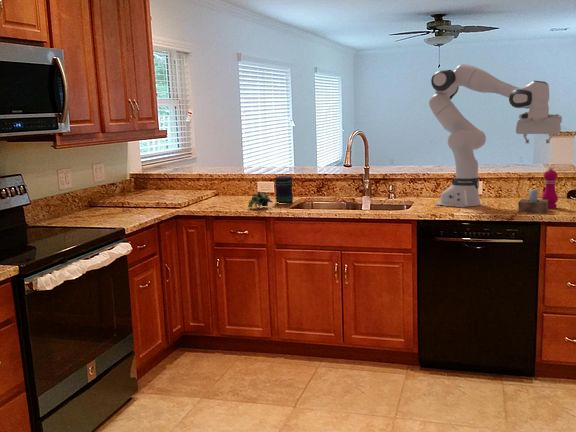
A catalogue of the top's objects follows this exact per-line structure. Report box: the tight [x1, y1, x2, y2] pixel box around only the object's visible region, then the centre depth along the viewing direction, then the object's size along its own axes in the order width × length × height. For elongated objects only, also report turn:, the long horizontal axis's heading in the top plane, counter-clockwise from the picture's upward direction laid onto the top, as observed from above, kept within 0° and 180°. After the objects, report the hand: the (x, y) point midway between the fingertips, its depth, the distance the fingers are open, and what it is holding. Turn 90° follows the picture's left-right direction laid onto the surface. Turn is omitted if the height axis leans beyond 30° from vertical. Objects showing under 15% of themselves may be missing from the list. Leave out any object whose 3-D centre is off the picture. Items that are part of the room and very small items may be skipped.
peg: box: [528, 189, 539, 202], centre depth 286 cm, size 4×4×10 cm
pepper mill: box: [541, 166, 559, 210], centre depth 293 cm, size 7×7×20 cm
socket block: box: [517, 198, 549, 214], centre depth 287 cm, size 12×10×5 cm
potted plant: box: [247, 191, 273, 209], centre depth 328 cm, size 11×11×12 cm
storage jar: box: [274, 175, 294, 204], centre depth 343 cm, size 10×10×15 cm
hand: (537, 143), depth 295 cm, fingers open, 8 cm apart
